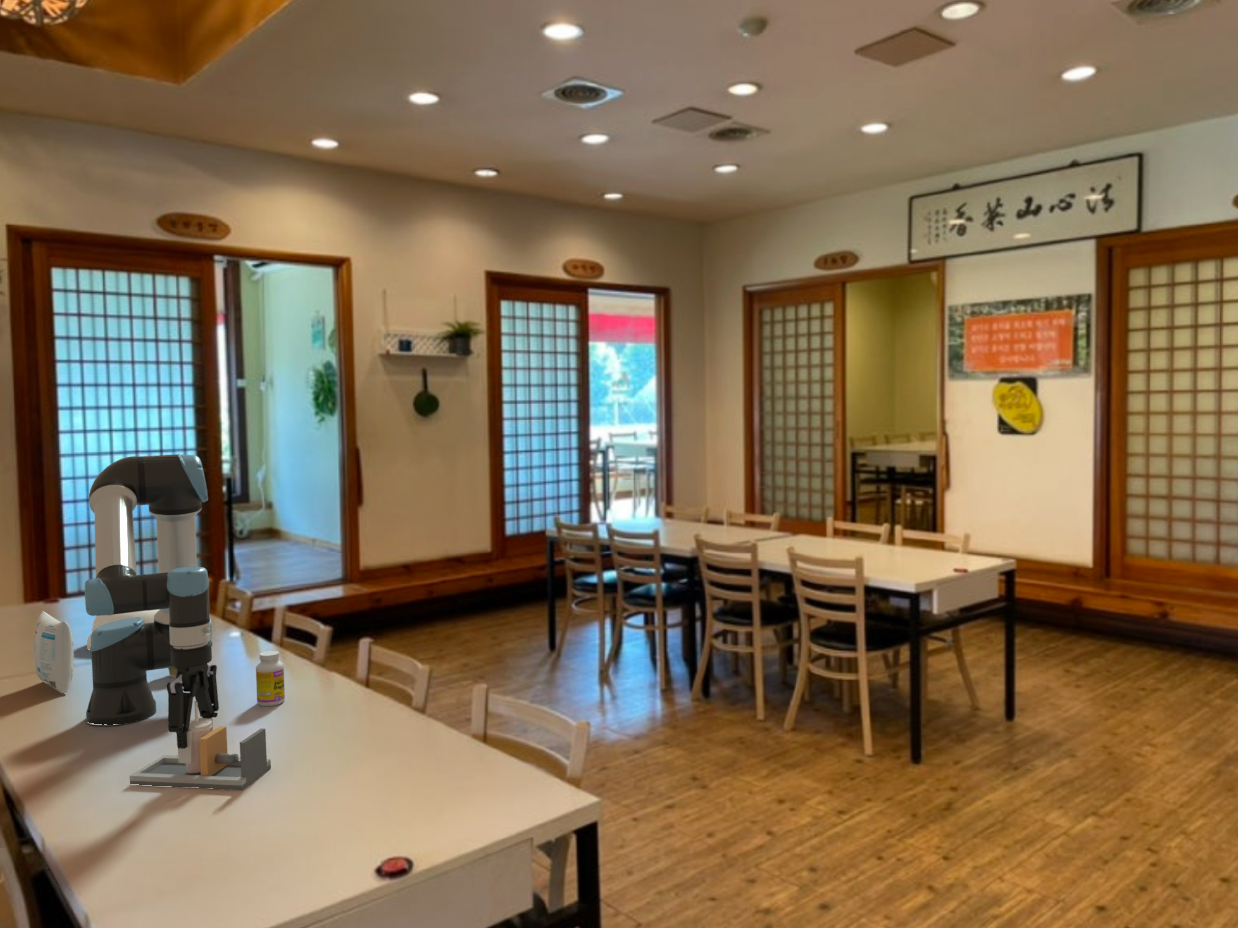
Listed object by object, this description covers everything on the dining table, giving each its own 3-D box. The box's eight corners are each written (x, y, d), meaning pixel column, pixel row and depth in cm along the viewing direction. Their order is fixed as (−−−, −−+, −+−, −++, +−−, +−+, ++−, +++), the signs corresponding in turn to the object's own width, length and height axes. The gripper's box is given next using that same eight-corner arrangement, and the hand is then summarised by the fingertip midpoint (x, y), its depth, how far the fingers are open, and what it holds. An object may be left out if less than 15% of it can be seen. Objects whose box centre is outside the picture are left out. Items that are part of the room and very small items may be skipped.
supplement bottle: (275, 707, 231) (273, 657, 230) (251, 706, 232) (249, 656, 231) (290, 699, 237) (288, 650, 236) (267, 698, 238) (264, 649, 238)
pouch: (47, 699, 241) (42, 624, 239) (31, 684, 254) (26, 612, 253) (81, 692, 246) (77, 618, 245) (63, 678, 260) (59, 608, 259)
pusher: (200, 778, 184) (199, 739, 183) (221, 764, 191) (219, 726, 190) (226, 779, 183) (224, 739, 182) (246, 765, 190) (244, 727, 190)
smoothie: (221, 765, 190) (218, 699, 189) (197, 777, 184) (194, 709, 183) (196, 762, 192) (193, 696, 191) (172, 774, 186) (168, 706, 185)
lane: (130, 785, 184) (127, 741, 183) (164, 764, 195) (162, 722, 194) (242, 790, 181) (240, 745, 180) (270, 768, 191) (269, 726, 191)
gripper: (179, 657, 176) (184, 775, 178) (234, 632, 195) (239, 739, 197) (143, 657, 177) (149, 774, 179) (201, 632, 196) (206, 738, 198)
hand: (196, 755), depth 188 cm, fingers closed on smoothie, 6 cm apart
